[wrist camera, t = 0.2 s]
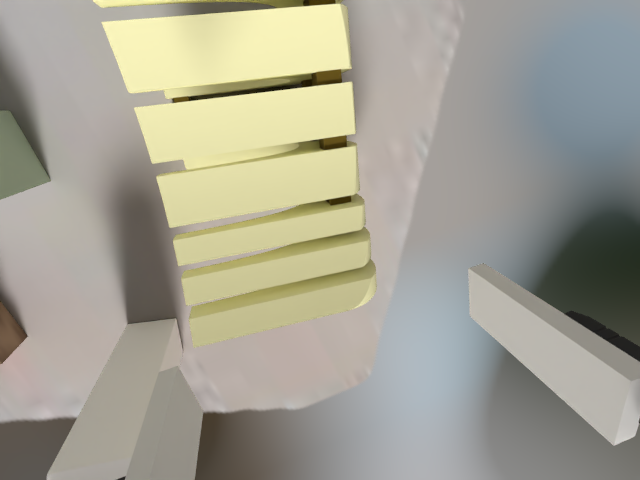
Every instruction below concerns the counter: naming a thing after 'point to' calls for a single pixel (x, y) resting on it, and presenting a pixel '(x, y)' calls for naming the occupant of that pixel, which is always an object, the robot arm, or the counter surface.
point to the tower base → (9, 334)
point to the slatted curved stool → (254, 158)
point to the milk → (118, 404)
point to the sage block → (17, 159)
